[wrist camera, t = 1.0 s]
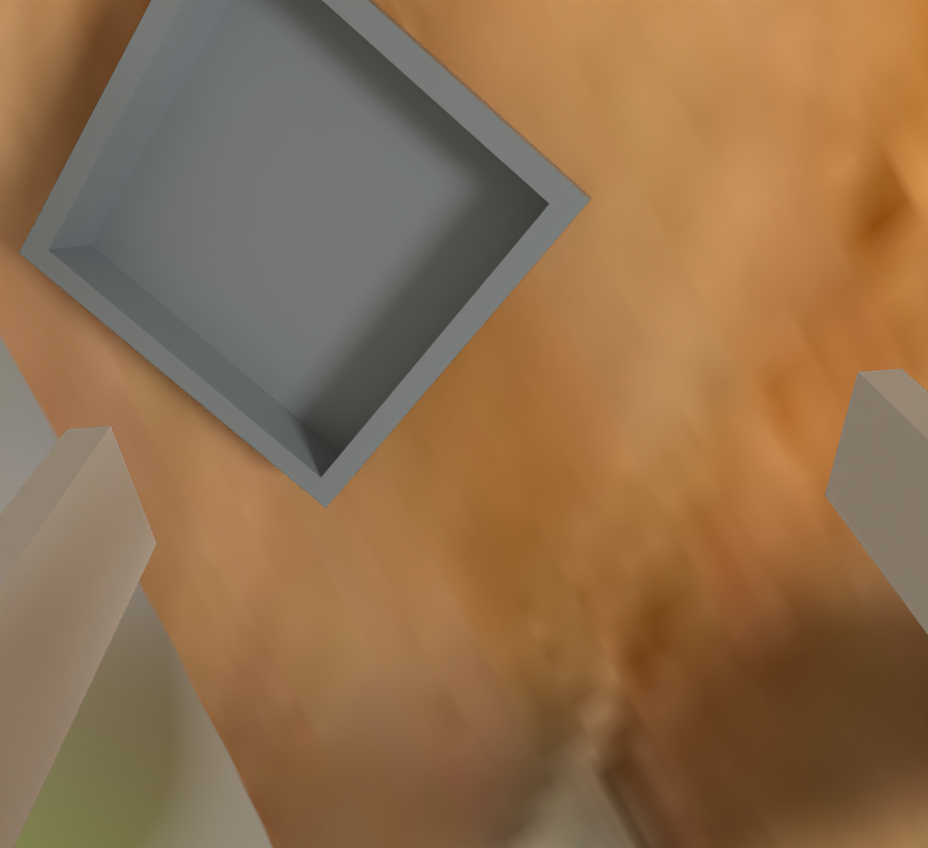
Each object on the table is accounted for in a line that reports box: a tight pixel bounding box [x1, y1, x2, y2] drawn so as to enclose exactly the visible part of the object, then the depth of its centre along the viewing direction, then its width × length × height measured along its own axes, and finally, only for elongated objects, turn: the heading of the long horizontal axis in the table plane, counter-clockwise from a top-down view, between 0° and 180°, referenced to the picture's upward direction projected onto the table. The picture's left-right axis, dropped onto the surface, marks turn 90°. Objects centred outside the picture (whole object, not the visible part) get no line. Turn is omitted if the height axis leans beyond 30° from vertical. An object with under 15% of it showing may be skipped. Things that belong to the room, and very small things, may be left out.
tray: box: [19, 0, 591, 508], centre depth 35 cm, size 20×20×4 cm
